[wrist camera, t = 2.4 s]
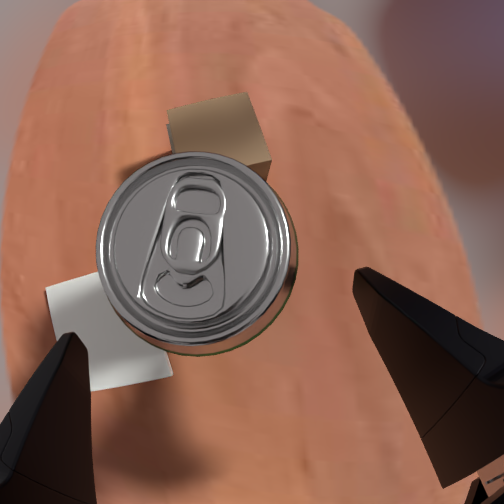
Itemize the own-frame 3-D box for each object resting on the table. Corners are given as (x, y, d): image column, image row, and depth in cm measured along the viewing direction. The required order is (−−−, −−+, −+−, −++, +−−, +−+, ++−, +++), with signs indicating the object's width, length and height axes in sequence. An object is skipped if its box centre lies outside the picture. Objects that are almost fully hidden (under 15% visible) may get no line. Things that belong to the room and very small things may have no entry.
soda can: (169, 320, 18) (67, 340, 6) (180, 236, 19) (109, 131, 7) (255, 331, 18) (296, 377, 6) (264, 246, 19) (315, 150, 7)
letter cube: (263, 191, 20) (271, 159, 15) (187, 211, 19) (175, 184, 15) (243, 132, 20) (247, 92, 16) (173, 149, 20) (160, 112, 15)
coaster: (173, 374, 17) (171, 376, 17) (76, 391, 16) (72, 393, 16) (142, 260, 18) (139, 259, 18) (50, 288, 17) (45, 287, 17)
